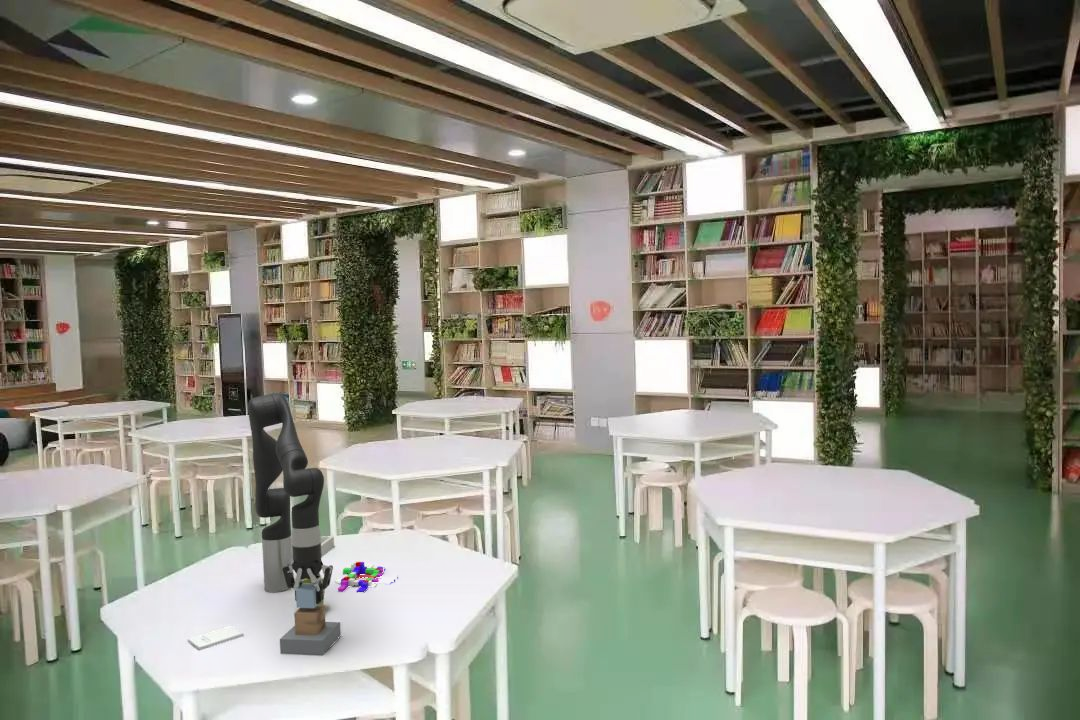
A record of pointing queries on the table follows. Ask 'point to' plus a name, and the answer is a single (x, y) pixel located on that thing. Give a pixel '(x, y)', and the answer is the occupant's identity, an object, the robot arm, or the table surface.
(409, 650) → the table surface
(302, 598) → the blue cube
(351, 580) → the building block set
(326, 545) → the corral
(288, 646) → the base plinth
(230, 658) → the table surface
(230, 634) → the external hard drive
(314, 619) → the walnut cube
